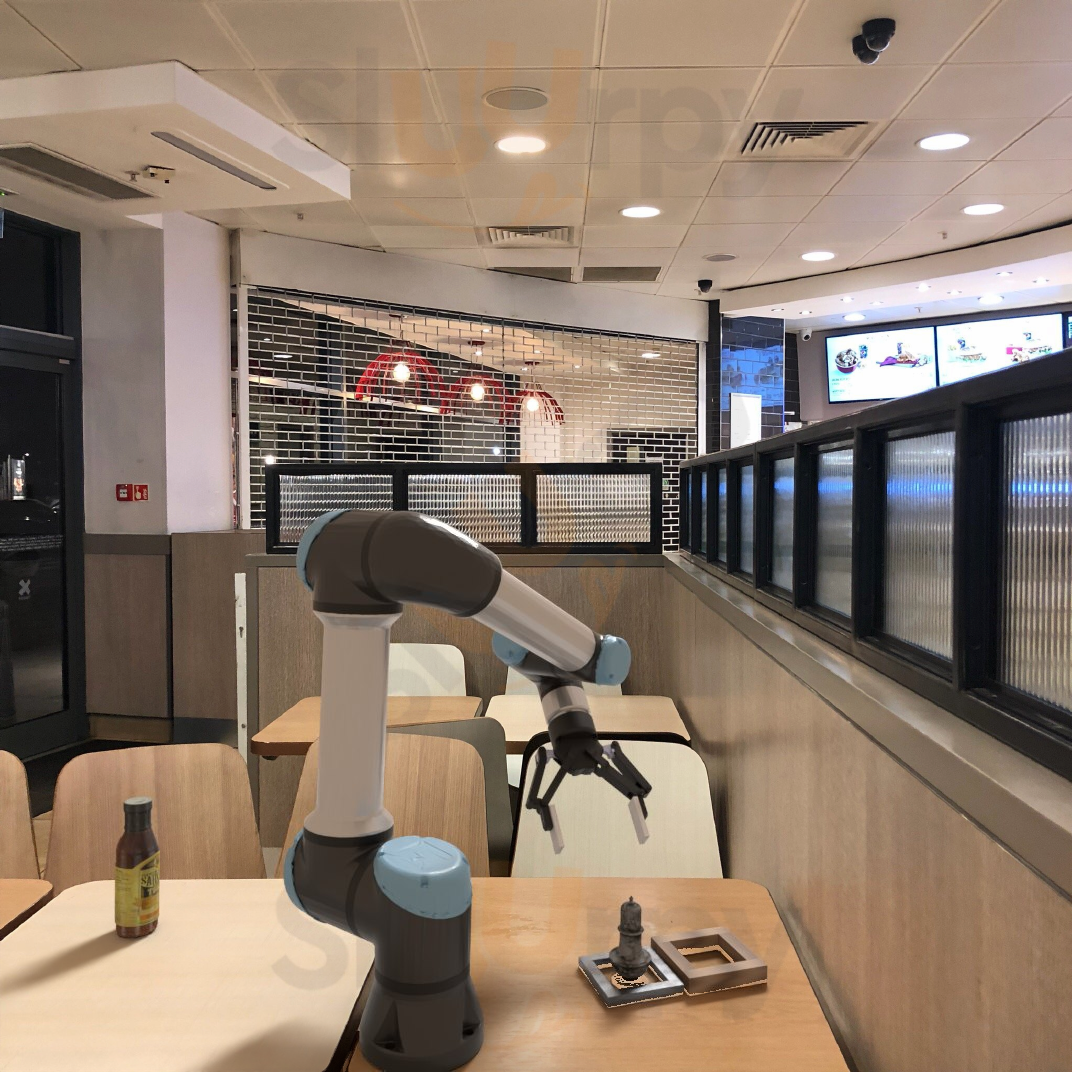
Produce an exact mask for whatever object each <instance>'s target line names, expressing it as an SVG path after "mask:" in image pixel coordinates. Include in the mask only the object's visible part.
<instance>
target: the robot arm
mask: <svg viewBox="0 0 1072 1072" xmlns="http://www.w3.org/2000/svg"><path fill="white" fill-rule="evenodd" d="M295 562H296V564H295V565H296V570H297V574H298V577H299V579H300V580H302V581H303V585H304V587H305V588H306V589H307V590H308V591H310V592H311V593H312V613H313V614H314V615H315V616H316V617H317V618H318V619H319V621H320V622H321V623H322V625H323V637H322V638H323V643H322V660H321V661H322V663H321V664H322V665H321V667H322V668H321V686H320V688H321V689H320V690H321V691H320V714H319V733H318V734H319V736H318V759H317V760H318V761H317V779H316V780H317V784H316V804H315V807H314V809H313V810H312V811H311V812H310V813H309V814H307V816H306V817H304V821H303V828H302V829H301V830H299V831H298V832H297V834H296V835H295V836H294V838H292V839H293V840H292V843H293V844H292V846H289V847H288V848H287V850H286V853H285V857H284V859H283V860H284V861H283V866H282V867H283V868H282V870H283V871H282V875H283V885H284V889H285V892H286V894H287V896H288V898H289V900H290V902H291V903H292V904H293V905H294V906H295V907H296V908H297V909H298V910H299V911H301V912H303V913H305V914H306V915H307V916H309V917H311V918H312V919H313V920H314V921H317V922H319V923H322V924H328V925H330V926H332V927H335V928H337V929H339V930H341V931H343V932H346V933H347V934H348V933H349V934H351V935H353V936H355V937H358V938H359V939H362V940H365V941H367V942H369V943H371V944H372V945H373V946H374V979H373V981H372V982H373V983H372V986H371V988H370V991H369V995H368V998H367V1000H366V1004H365V1007H364V1010H363V1013H362V1016H361V1019H360V1023H359V1050H360V1052H361V1054H362V1056H363V1058H364V1059H365V1060H366V1061H367V1062H368V1063H369V1064H371V1065H372V1066H373V1067H375V1068H376V1069H379V1070H381V1071H383V1072H449V1071H452V1070H454V1069H457V1068H459V1067H461V1066H462V1065H463V1066H464V1064H466V1063H467V1062H469V1061H470V1060H472V1059H473V1057H475V1055H477V1053H478V1052H479V1051H480V1049H481V1048H482V1045H483V1042H484V1035H485V1034H484V1032H485V1031H484V1029H485V1025H484V1024H485V1023H484V1022H485V1021H484V1020H485V1019H484V1014H483V1011H482V1007H481V1004H480V1001H479V998H478V995H477V992H476V989H475V985H474V982H473V979H472V975H471V947H472V946H471V943H472V940H471V939H472V902H473V901H472V900H473V885H472V881H471V879H472V877H471V866H470V862H469V860H468V858H467V857H466V855H465V854H464V853H463V852H462V850H460V849H459V848H458V847H457V846H455V845H453V844H452V843H450V842H449V841H446V840H443V839H441V838H436V837H432V836H426V837H421V836H419V835H405V836H399V837H395V838H394V826H395V825H394V824H395V823H394V822H395V821H394V817H393V815H392V814H391V813H390V812H389V811H388V810H387V809H386V808H385V807H384V791H385V790H384V785H385V784H384V783H385V767H386V766H385V764H386V744H387V743H386V739H387V720H388V719H387V717H388V715H387V714H388V693H389V692H388V691H389V671H390V646H391V627H392V625H394V624H395V622H397V620H399V619H400V618H401V617H402V616H403V612H404V604H405V605H414V606H415V605H417V606H422V607H427V608H432V609H437V610H441V611H444V612H446V613H448V614H449V615H452V616H453V617H455V618H457V619H469V618H472V619H474V620H475V621H477V622H479V623H481V624H482V625H484V626H486V627H488V628H489V629H491V630H493V634H492V638H491V648H492V651H493V654H494V655H495V656H496V657H497V658H498V659H500V660H501V662H502V663H503V664H504V665H506V666H508V667H509V668H512V669H513V670H514V671H516V672H518V673H519V674H520V675H522V676H523V677H525V678H527V680H529V681H530V682H532V683H534V684H535V685H536V688H537V691H538V695H539V698H540V703H541V707H542V711H543V715H544V718H545V724H546V725H547V732H548V735H549V736H548V737H549V739H550V745H551V746H552V749H547V748H546V747H545V746H543V745H541V746H539V747H538V749H537V750H536V753H535V755H534V760H535V769H534V772H533V776H532V780H531V784H530V788H529V791H528V794H527V797H526V802H525V808H526V809H527V810H528V811H529V810H536V811H535V812H536V813H537V814H538V815H539V816H540V821H541V825H542V829H543V831H544V832H549V835H550V838H551V843H552V847H553V851H554V855H560V854H562V851H563V849H564V847H565V843H564V839H563V834H562V829H561V825H560V822H559V819H558V814H557V809H556V806H555V804H554V803H553V804H550V802H551V801H552V799H553V797H554V796H555V794H556V792H557V791H558V788H559V787H560V785H561V784H562V782H563V780H564V778H565V777H566V775H567V774H568V775H571V776H572V777H579V776H580V775H583V776H591V775H592V774H594V775H596V777H599V778H602V779H603V780H604V781H606V782H607V783H608V784H610V785H611V786H612V787H613V788H614V789H615V790H617V791H618V792H619V793H621V795H623V796H624V797H625V798H626V799H628V800H629V802H628V804H627V806H628V811H629V814H630V816H631V820H632V824H633V827H634V831H635V833H636V837H637V840H638V843H639V845H645V843H646V842H647V841H648V840H649V838H650V833H649V830H648V827H647V826H648V825H647V823H646V820H647V818H648V816H649V813H648V809H647V806H646V803H645V800H644V799H647V797H648V796H649V795H650V794H651V791H652V790H653V787H652V785H651V784H650V783H649V781H648V780H647V779H646V778H645V776H643V774H642V773H641V772H640V770H638V768H637V767H636V766H635V765H634V764H633V763H632V761H631V760H630V759H629V758H628V757H627V756H626V755H625V753H624V752H623V750H622V747H621V745H620V743H619V741H618V740H612V741H611V743H610V744H605V745H602V743H600V741H599V739H598V733H597V729H596V725H595V723H594V719H593V716H592V711H591V708H590V705H589V703H588V702H589V701H588V699H587V695H586V692H585V688H584V685H583V683H589V684H594V685H597V686H599V687H600V686H607V687H608V686H609V687H616V686H618V685H621V684H622V683H623V682H624V681H625V680H626V678H627V676H628V674H629V671H630V667H631V661H632V655H631V654H632V653H631V649H630V646H629V645H628V642H627V641H626V640H625V639H624V638H621V637H617V636H613V635H612V634H607V635H606V634H600V633H598V632H596V631H594V630H593V629H591V628H590V627H588V626H587V625H585V624H584V623H583V622H581V621H579V620H578V619H576V618H575V617H574V616H572V615H571V614H570V613H568V612H566V611H565V610H563V609H562V608H561V607H559V606H557V604H555V603H553V602H552V601H550V600H549V599H547V598H546V597H545V596H543V595H541V594H540V593H539V592H538V591H536V590H534V589H533V588H531V587H530V586H529V585H527V584H525V583H524V582H523V581H521V580H520V579H519V578H516V577H515V576H514V575H513V574H511V573H509V571H507V570H506V569H504V568H503V564H502V562H501V560H500V558H499V557H498V556H497V554H495V552H493V551H491V550H490V549H488V548H487V547H486V546H484V545H483V544H482V543H480V542H478V541H477V540H475V539H474V538H473V537H470V535H467V534H466V533H464V532H463V531H461V530H459V529H457V528H456V527H454V526H452V525H450V524H449V523H446V522H445V521H442V520H440V519H438V518H436V517H433V516H431V515H428V514H425V513H422V512H418V511H412V510H411V511H410V510H378V509H377V510H373V509H372V510H371V509H360V508H346V509H341V510H340V509H339V510H333V511H329V512H326V513H324V514H321V515H320V516H318V517H317V518H316V519H315V520H314V521H313V522H312V524H310V525H308V527H307V528H306V530H305V531H304V533H303V534H302V536H301V538H300V540H299V543H298V546H297V552H296V561H295ZM603 755H605V756H606V757H607V759H606V758H605V757H604V756H603ZM551 759H552V760H553V761H554V762H555V763H557V765H558V766H559V769H558V771H557V772H556V774H555V776H554V777H553V779H552V780H551V782H550V784H549V786H548V787H547V789H546V791H545V793H544V794H543V796H542V798H540V797H538V796H539V793H540V789H541V785H542V781H543V778H544V774H545V770H546V766H547V764H549V762H550V761H551ZM609 760H610V761H611V763H612V764H613V765H614V767H616V768H614V767H613V766H612V765H611V764H610V762H609ZM599 766H600V767H599Z"/></svg>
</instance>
